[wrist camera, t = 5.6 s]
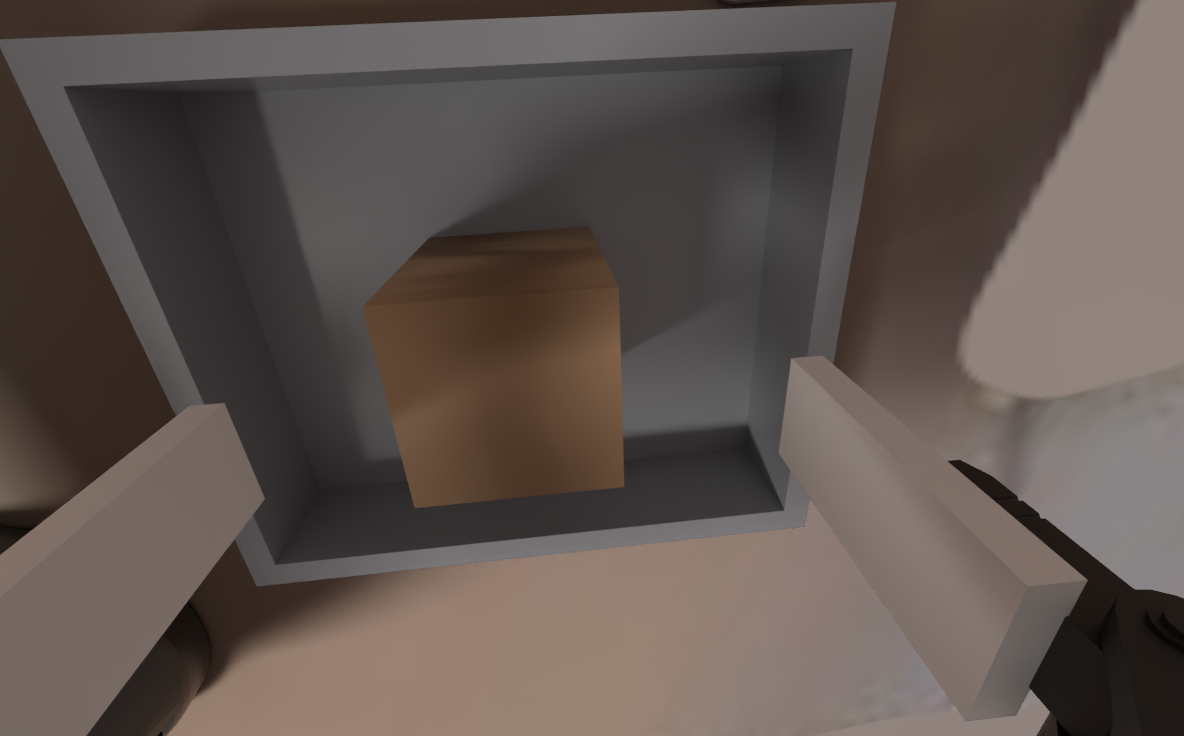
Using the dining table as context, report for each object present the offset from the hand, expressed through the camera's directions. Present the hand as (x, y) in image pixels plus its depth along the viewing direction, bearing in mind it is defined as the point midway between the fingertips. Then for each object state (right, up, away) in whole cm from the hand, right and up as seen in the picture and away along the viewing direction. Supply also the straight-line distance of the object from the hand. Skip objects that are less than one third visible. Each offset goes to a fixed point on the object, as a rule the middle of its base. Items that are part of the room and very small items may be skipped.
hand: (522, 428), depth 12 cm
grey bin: (-1, +4, +9) cm, 10 cm away
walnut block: (-1, +4, +8) cm, 9 cm away
